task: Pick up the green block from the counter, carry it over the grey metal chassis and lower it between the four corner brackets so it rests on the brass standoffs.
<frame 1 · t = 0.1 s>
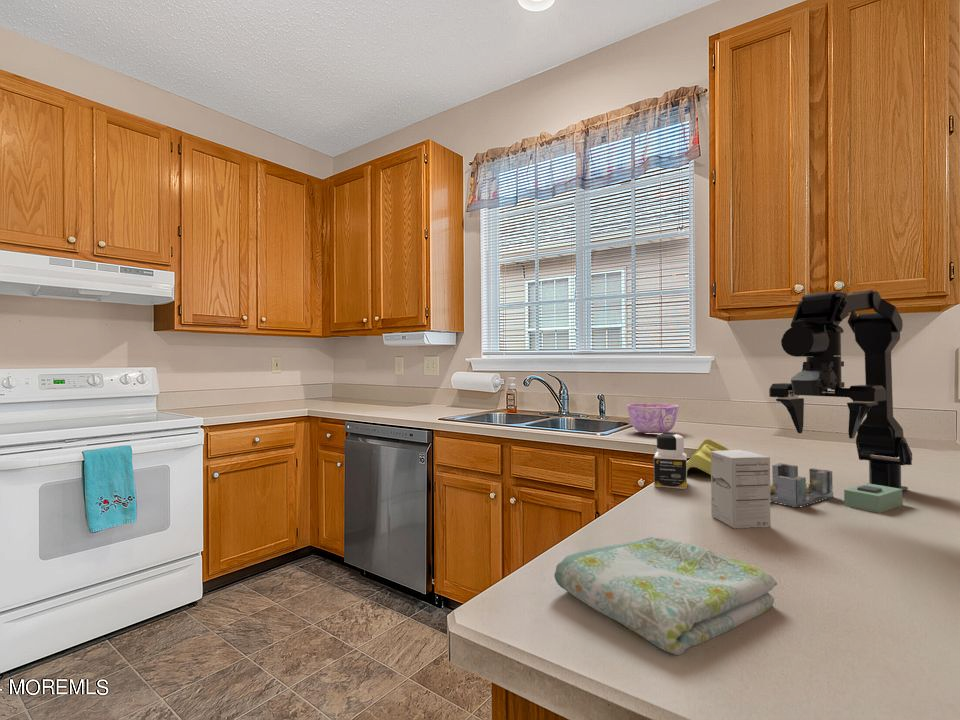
hand: (824, 435, 102), 15 cm above the counter, tool pointing down, fingers open, 9 cm apart
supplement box: (740, 523, 95), on the counter
green block: (873, 506, 104), on the counter
plastic component: (710, 472, 138), on the counter
chassis: (788, 496, 112), on the counter
towel: (663, 604, 65), on the counter
purple round bowl: (652, 434, 209), on the counter
medicine bottle: (670, 485, 124), on the counter
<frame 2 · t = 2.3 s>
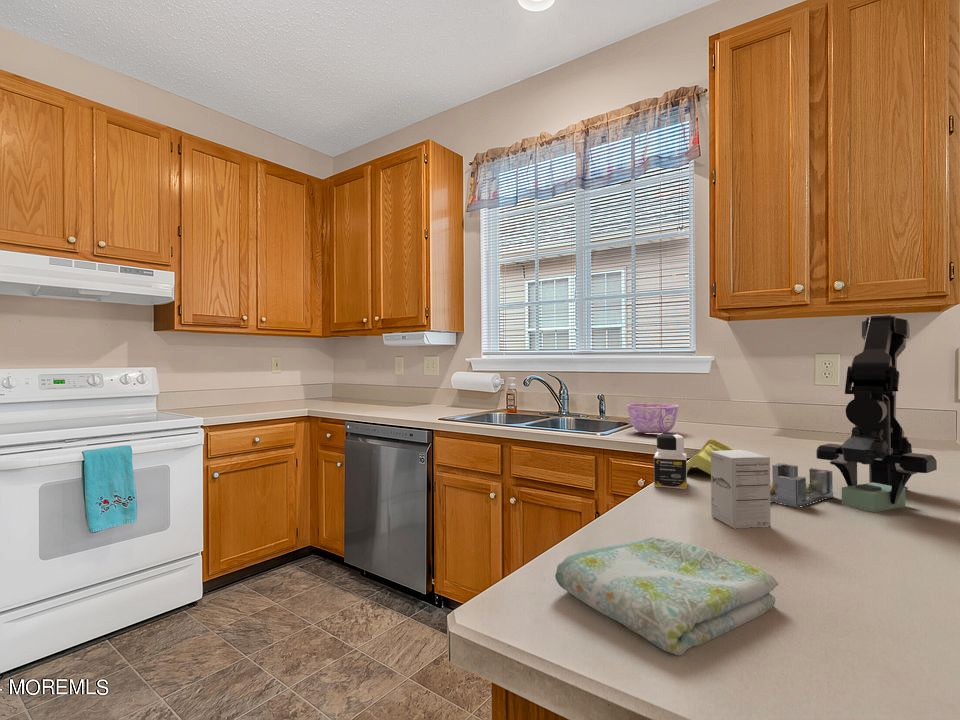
hand: (873, 499, 104), 1 cm above the counter, tool pointing down, fingers closed on green block, 6 cm apart
green block: (873, 505, 104), on the counter, touching gripper
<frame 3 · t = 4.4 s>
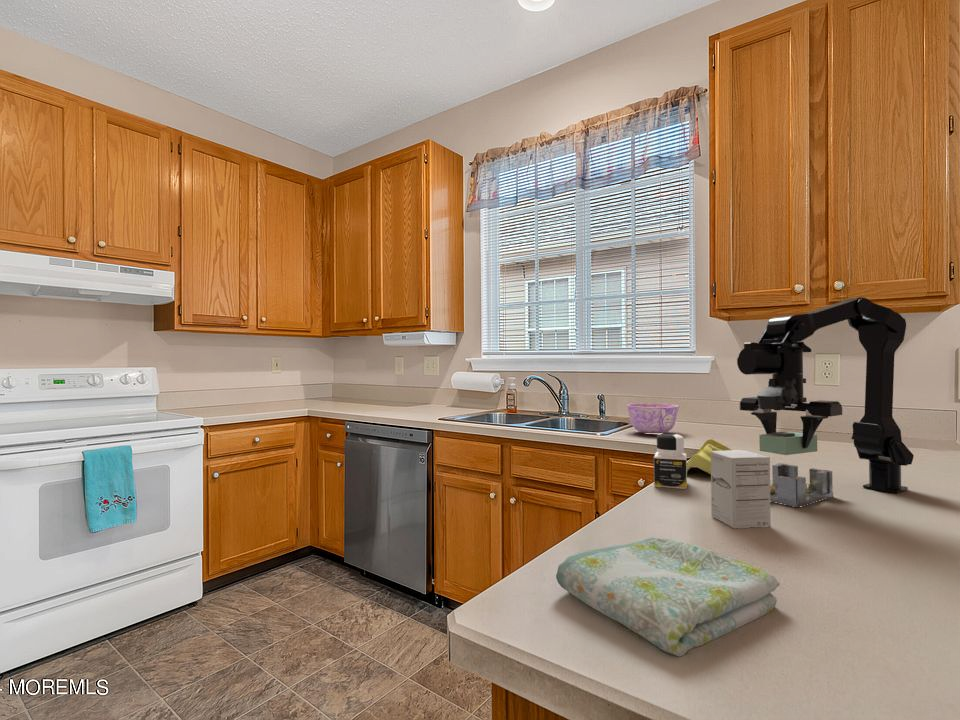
hand: (788, 446, 112), 11 cm above the counter, tool pointing down, fingers closed on green block, 6 cm apart
green block: (788, 451, 111), point 10 cm above the counter, touching gripper
everything else where it was.
when the fingers open (5 cm above the counter, at t = 5.7 s): green block drops 1 cm, resting on chassis.
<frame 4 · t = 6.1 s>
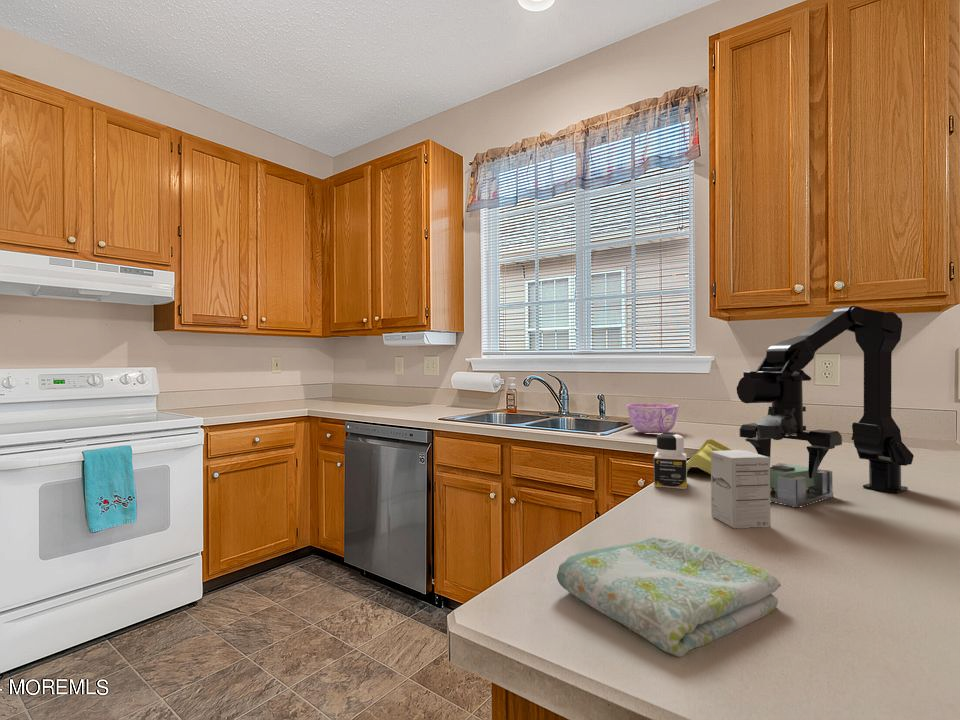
hand: (788, 474, 112), 5 cm above the counter, tool pointing down, fingers open, 9 cm apart
green block: (788, 485, 112), point 2 cm above the counter, touching chassis
everything else where it was.
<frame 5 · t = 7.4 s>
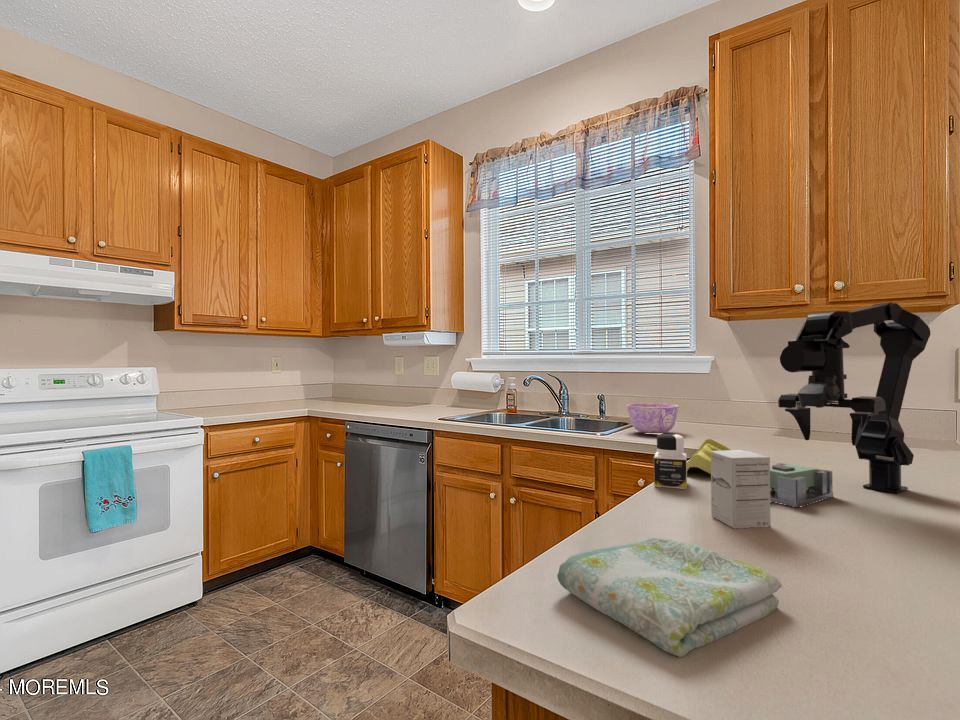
hand: (830, 442, 111), 12 cm above the counter, tool pointing down, fingers open, 9 cm apart
nothing on the counter moved.
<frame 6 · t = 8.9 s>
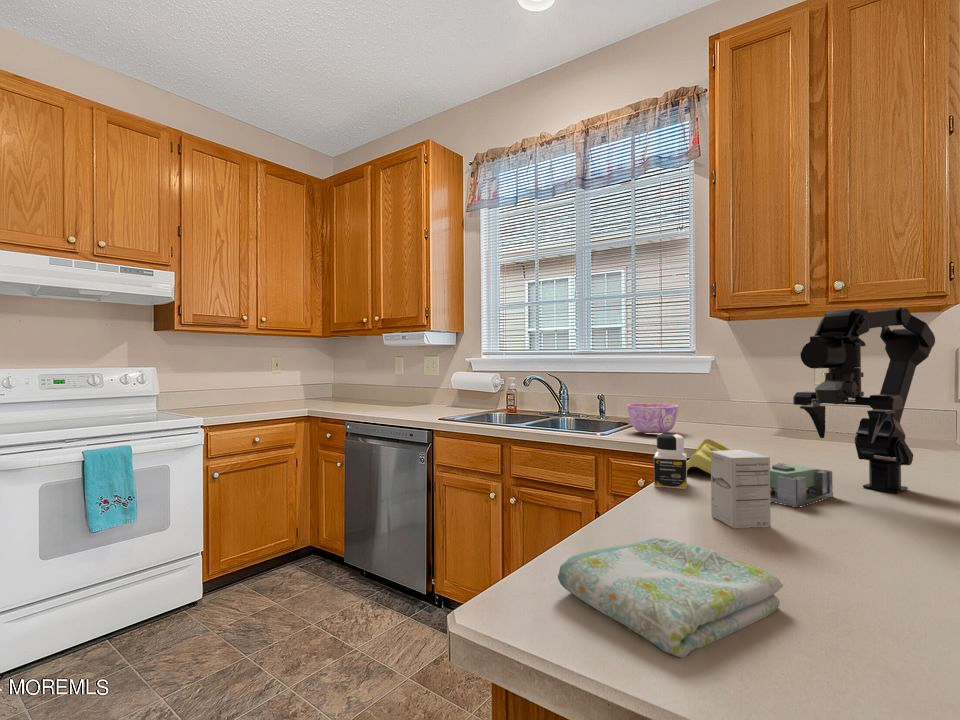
hand: (845, 440, 111), 12 cm above the counter, tool pointing down, fingers open, 9 cm apart
nothing on the counter moved.
at the end: green block 0.0 cm off-centre on the chassis, point 2.5 cm above the chassis's base; green block tilted 0°; the gripper is holding nothing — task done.
